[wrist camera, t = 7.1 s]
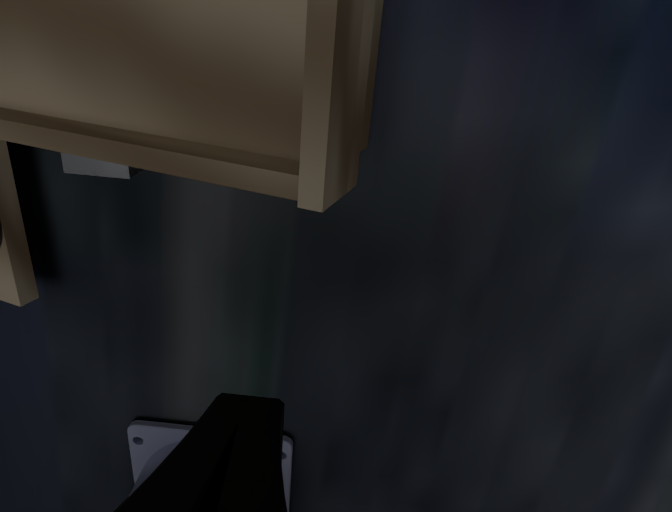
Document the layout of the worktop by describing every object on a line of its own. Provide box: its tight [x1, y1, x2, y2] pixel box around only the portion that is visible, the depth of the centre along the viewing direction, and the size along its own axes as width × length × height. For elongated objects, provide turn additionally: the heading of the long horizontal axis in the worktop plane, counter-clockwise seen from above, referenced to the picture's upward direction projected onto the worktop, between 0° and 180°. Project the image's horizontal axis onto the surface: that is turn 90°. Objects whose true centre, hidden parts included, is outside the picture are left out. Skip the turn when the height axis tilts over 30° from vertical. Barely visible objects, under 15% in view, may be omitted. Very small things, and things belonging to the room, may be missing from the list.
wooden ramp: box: [0, 0, 384, 307], centre depth 16 cm, size 13×16×5 cm
